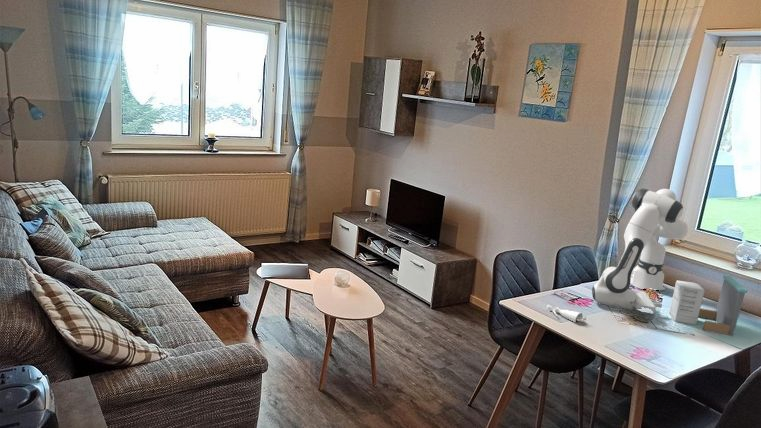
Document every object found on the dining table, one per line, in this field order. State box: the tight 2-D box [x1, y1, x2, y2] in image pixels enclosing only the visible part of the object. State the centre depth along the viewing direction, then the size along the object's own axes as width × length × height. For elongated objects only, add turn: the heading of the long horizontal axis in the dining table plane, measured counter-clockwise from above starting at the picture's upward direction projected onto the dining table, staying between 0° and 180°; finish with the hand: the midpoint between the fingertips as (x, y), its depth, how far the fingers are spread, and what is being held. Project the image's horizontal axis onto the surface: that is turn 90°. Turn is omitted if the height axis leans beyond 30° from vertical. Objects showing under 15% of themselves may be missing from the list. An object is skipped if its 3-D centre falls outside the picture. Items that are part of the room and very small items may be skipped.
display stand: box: [698, 274, 748, 336], centre depth 240 cm, size 19×12×21 cm, turn 166°
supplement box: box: [668, 279, 706, 326], centre depth 243 cm, size 10×9×17 cm
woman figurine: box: [545, 304, 587, 323], centre depth 234 cm, size 12×4×18 cm
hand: (661, 304), depth 246 cm, fingers closed
